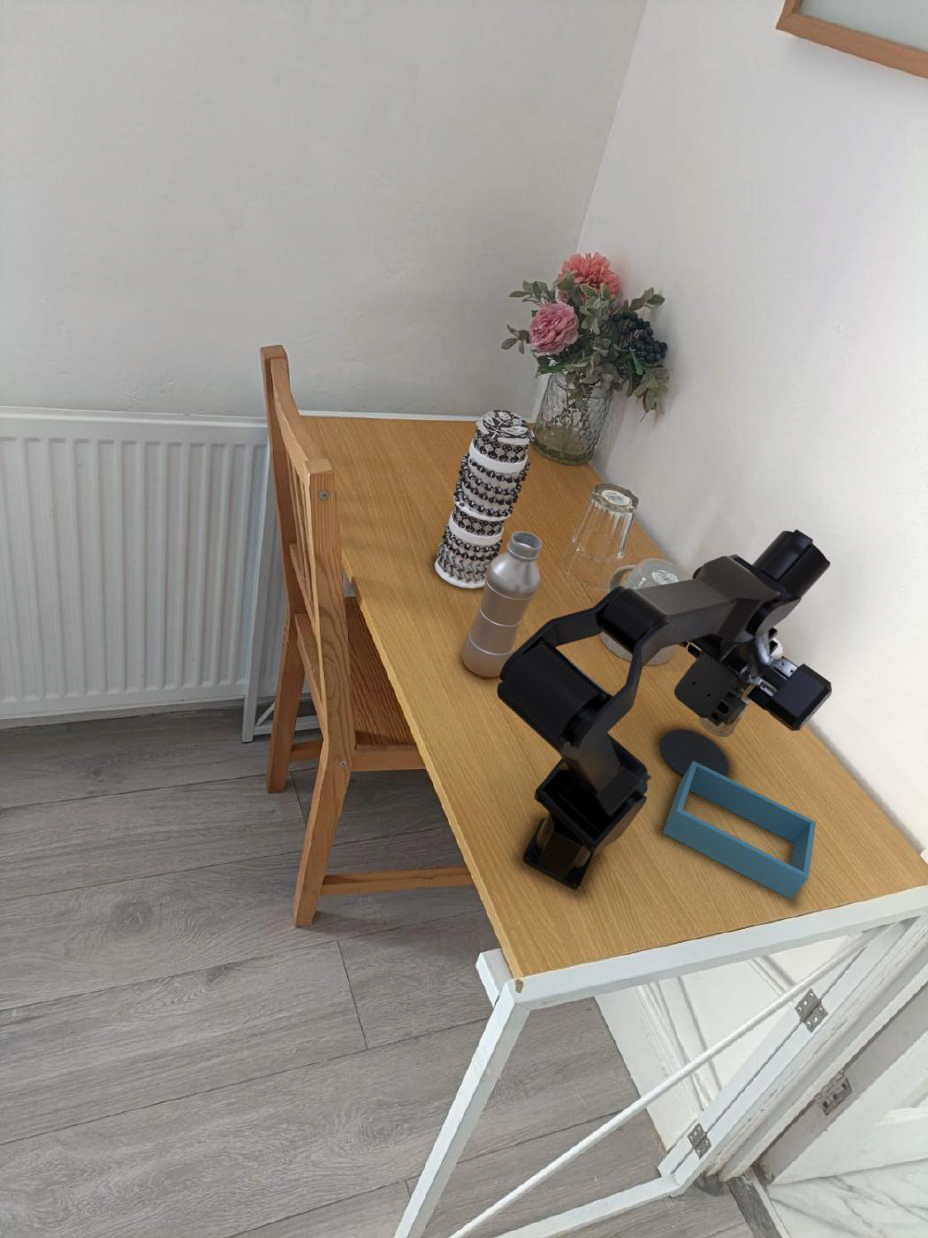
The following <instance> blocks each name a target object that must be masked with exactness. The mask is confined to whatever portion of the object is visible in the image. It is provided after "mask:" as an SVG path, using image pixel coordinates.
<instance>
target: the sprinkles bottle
mask: <svg viewBox="0 0 928 1238" xmlns="http://www.w3.org/2000/svg"><path fill="white" fill-rule="evenodd" d="M773 640H774V641H775V642H777V643H778V647H777V648H776V650H775V651H774V652H773V653H772V654H771V655H770V656H772V657H773V658H774V659H780V658H781V657H782V656H783V653H784V648H783V645H782V643H781V642H780V641H779V640H778V639H777V638H776V636H775V637H774V638H773ZM770 666H771V665H769V666H768V667H770ZM757 676H760V675H759V674H758V675H757ZM757 676H756V677H757ZM760 678H761V676H760ZM760 678H759V679H760ZM755 686H756V685H754V684H753V683H751V685H750V686H749V687H748V688H747V689H746V690H745V691H744V690H743V689H741V691H743V692H744V694H743V695H742V697H741V699H742V701H744V702H745V703H746V707H745V709H744V710H743V711H742V713H741V714H740V715H739V716H738V718H737V719H736V720H735V722H734V723H733V724H731V725H726V724H724V723H723V722H722V723H721V724H720V725H719V726H718V727H717V726H716V725H715V724H713V723H712V722H711V721H710V720H708V719H707V718H702V717H699V716H698V721H699V724H700V725H701V727H702V728H703V729H704V730H705V731H706V732H708V733H710V734H711V735H713V736H716V737H718V738H719V737H720V738H728V737H730V736H732V735H733V734H734V732H735V730H736V727H737V725H738V724H739V722H740V721H741V719H742V717H743V716H744V715H745V713H746V712H747V710H748V709H749V707H750V705H751V703H752V702H753V701H752V700H750V699H749V698H748V697H747V695H748V694H749V693H750V692H751V690H752V689H753V688H754V687H755Z"/></svg>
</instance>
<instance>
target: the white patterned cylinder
mask: <svg viewBox="0 0 928 1238" xmlns="http://www.w3.org/2000/svg"><path fill="white" fill-rule="evenodd" d="M475 425H476V429H475V432H474V437H473V438H472V440H471V442H470V445H469V447H468V448H469V449H468V451H467V453H464V454H463V455H462V459H461V460H460V468H459V469H458V472H457V473H458V474H459V476H458V477H457V482H456V483H455V490H454V491H453V493H452V494H453V500H454V507H453V510H452V511H451V513H450V516H449V519H448V520H447V521H446V524H445V525H444V533H443V534H442V535H441V538H442V539H441V542H440V544H439V545H438V552H437V553H436V561H435V562H434V568H435V572H436V573H437V574H438V576H439V577H441V579H443V580H444V581H446V582H447V583H449V584H451V585H453V586H455V587H459V588H462V589H464V588H465V589H478V588H483V587H484V585H485V578H486V572H487V567H488V566H489V564H490V563H491V561H492V560H493V559H494V558H495V557H497V556H498V555H499V552H500V551H501V550H500V548H501V547H502V543H503V541H504V540H503V538H502V535H503V534H504V530H505V524H506V520H507V519H508V518H509V517H511V515H512V514H513V510H514V506H513V504H516V503H517V502H518V499H519V495H518V494H520V493H521V491H522V489H523V486H522V484H521V483H522V482H525V481H526V479H527V476H528V474H527V472H528V471H529V470H530V467H531V463H530V462H529V461H528V457H529V455H528V454H529V449H530V446H531V444H532V443H533V442H534V440H535V438H536V436H535V433H534V432H533V430H532V429H531V427H530V425H529V423H528V421H527V420H526V419H525V418H524V417H523V416H521V415H519V414H517V413H516V412H513V411H509V410H504V409H493V410H490V411H488V412H487V413H485V414H483V415H480V416H478V417H477V418H476V420H475Z"/></svg>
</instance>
